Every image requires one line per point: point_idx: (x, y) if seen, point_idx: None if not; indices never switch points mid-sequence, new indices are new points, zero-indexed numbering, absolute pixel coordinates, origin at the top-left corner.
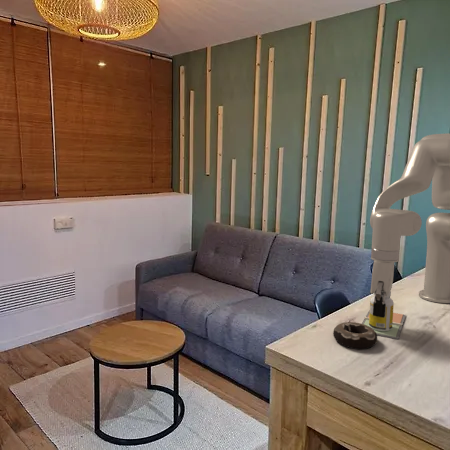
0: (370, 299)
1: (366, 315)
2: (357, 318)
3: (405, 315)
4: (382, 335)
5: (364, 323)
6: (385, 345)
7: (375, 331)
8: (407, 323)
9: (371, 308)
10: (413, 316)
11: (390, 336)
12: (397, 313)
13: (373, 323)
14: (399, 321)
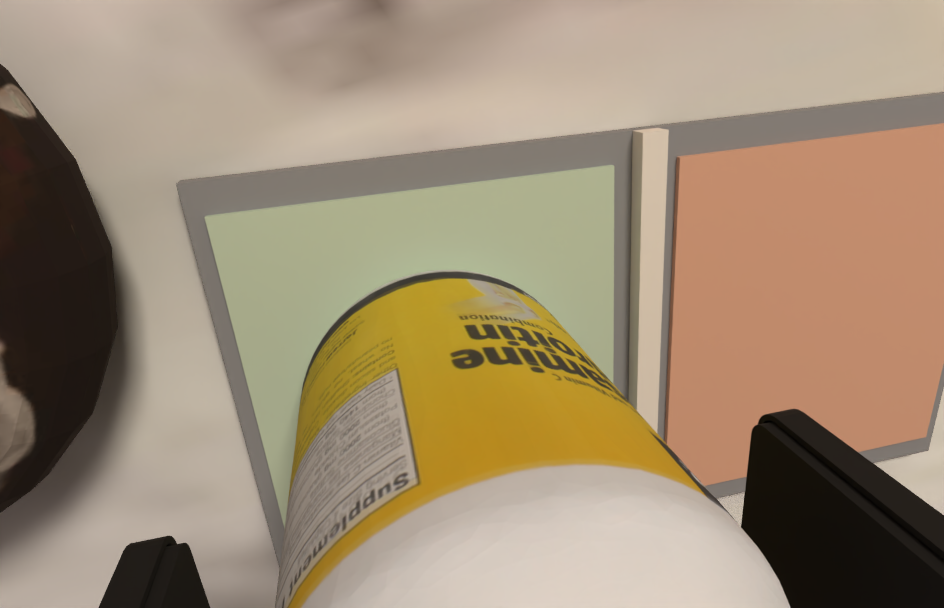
0: (494, 531)
1: (767, 117)
2: (646, 23)
3: (918, 449)
4: (252, 462)
5: (461, 189)
6: (33, 553)
7: (284, 384)
8: (741, 509)
9: (334, 482)
10: (927, 492)
11: (277, 532)
12: (935, 390)
13: (306, 392)
14: (725, 471)
